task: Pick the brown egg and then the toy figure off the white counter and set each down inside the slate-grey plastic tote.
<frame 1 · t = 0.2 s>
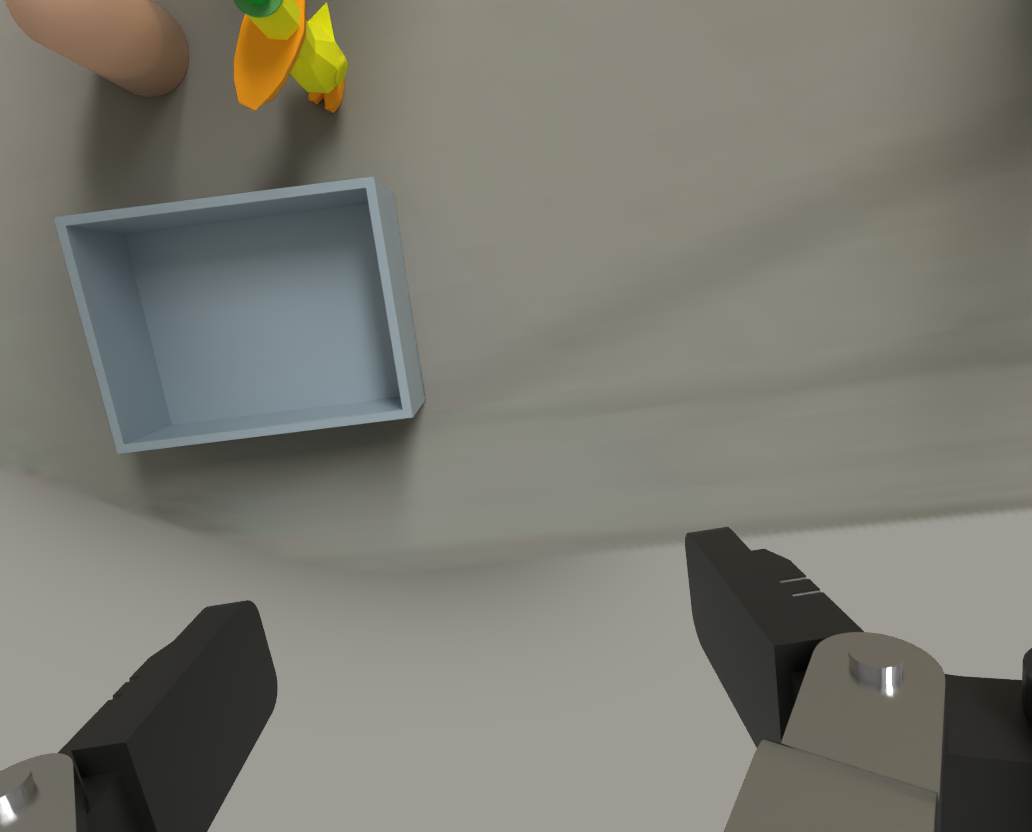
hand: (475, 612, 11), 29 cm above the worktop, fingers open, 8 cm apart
tote: (277, 316, 38), on the worktop
toy figure: (327, 94, 36), on the worktop
brown egg: (145, 50, 35), on the worktop
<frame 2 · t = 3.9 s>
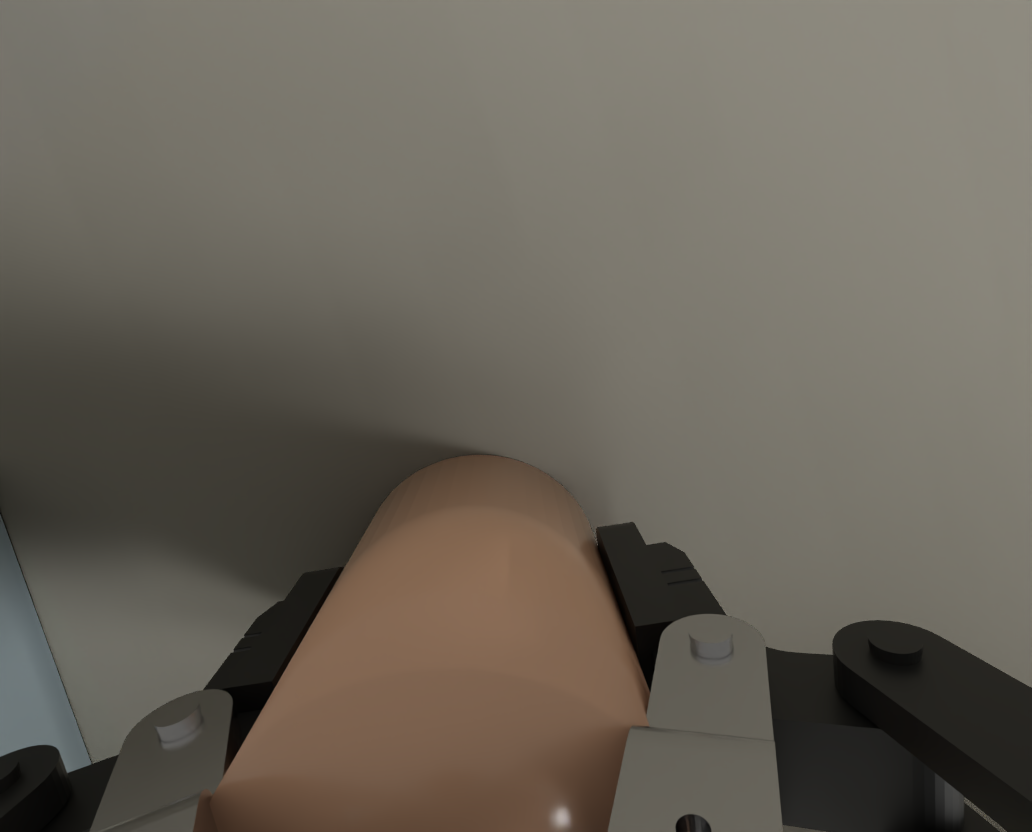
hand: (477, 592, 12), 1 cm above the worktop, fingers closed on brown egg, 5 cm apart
brown egg: (480, 567, 13), on the worktop, touching gripper
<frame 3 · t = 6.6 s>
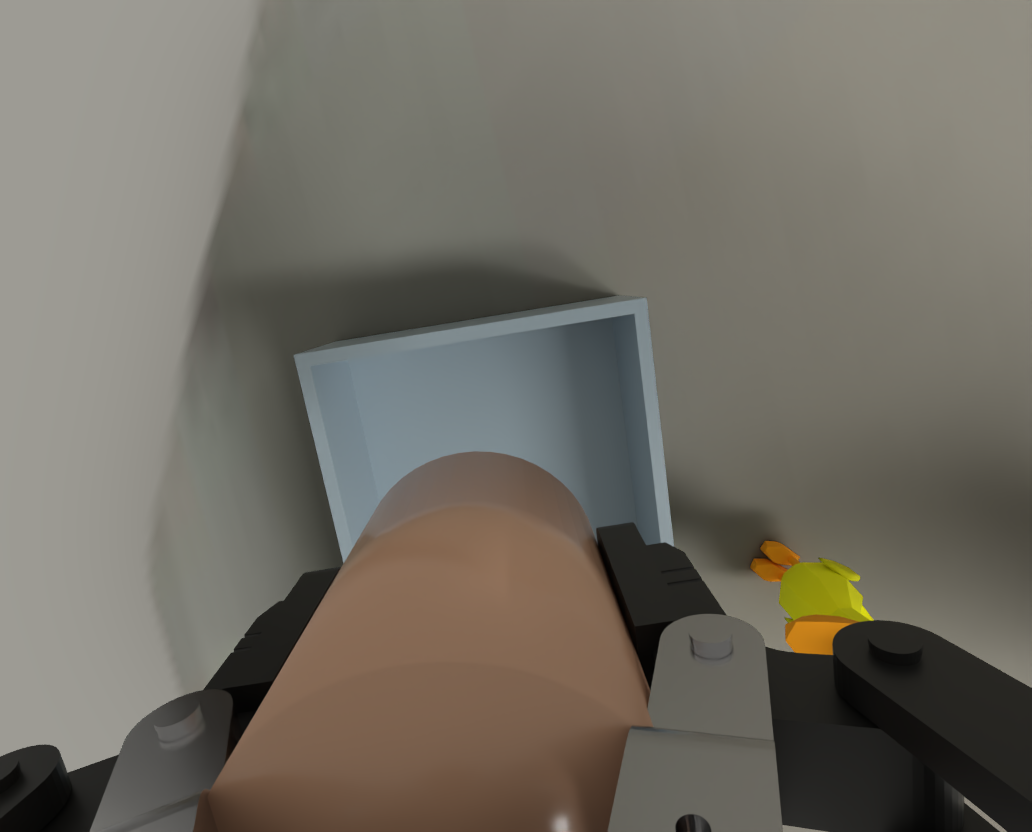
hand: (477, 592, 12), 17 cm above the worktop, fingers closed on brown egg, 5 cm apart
tote: (506, 494, 29), on the worktop
toy figure: (769, 556, 30), on the worktop
brown egg: (480, 564, 13), point 16 cm above the worktop, touching gripper
when the fingers open (3 cm above the worktop, at t = 9.5 s): brown egg stays where it is, resting on tote.
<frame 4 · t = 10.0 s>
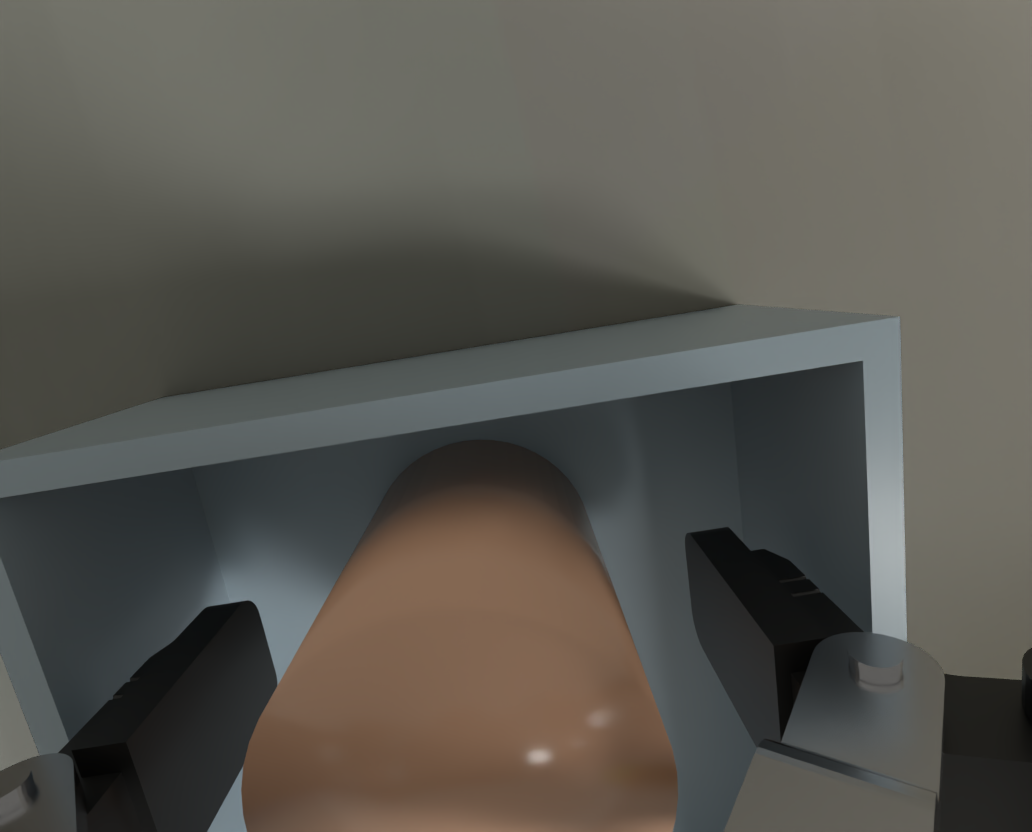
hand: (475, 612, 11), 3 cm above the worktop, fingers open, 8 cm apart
tote: (509, 684, 15), on the worktop
brown egg: (482, 545, 14), point 1 cm above the worktop, touching tote
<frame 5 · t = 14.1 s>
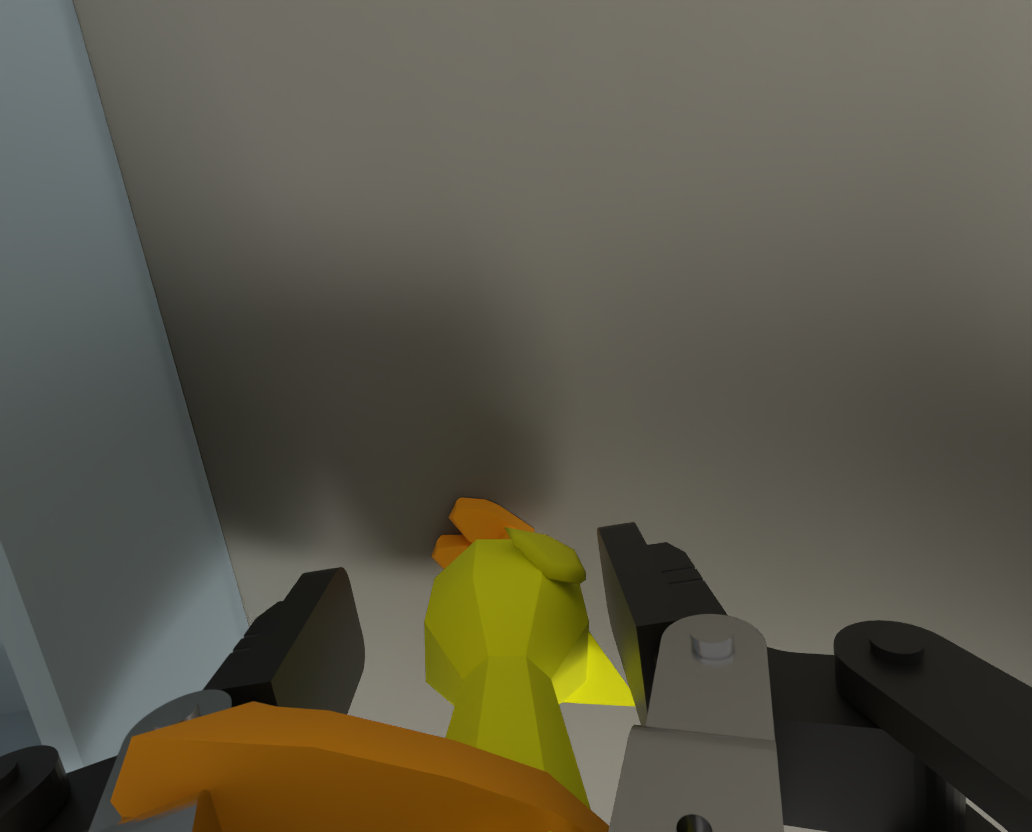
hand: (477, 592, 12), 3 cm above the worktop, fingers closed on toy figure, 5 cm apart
toy figure: (478, 531, 15), on the worktop, touching gripper
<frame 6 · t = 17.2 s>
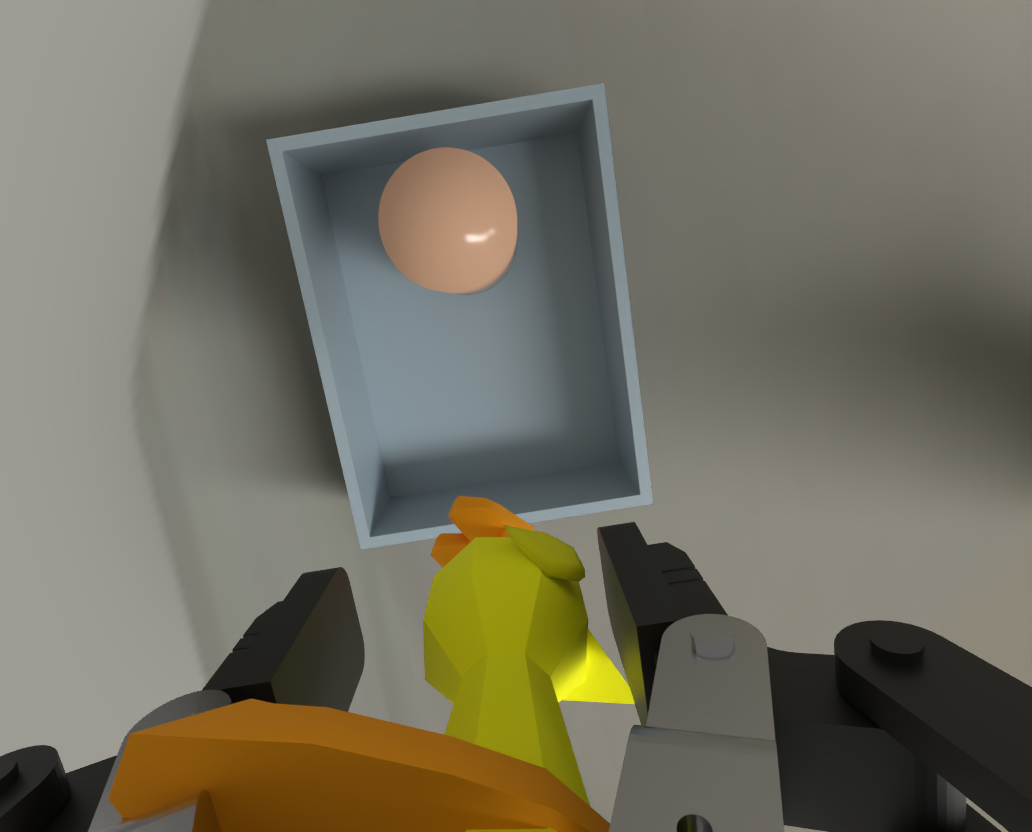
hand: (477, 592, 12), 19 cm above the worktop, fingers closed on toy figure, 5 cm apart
tote: (478, 325, 30), on the worktop
toy figure: (477, 529, 15), point 16 cm above the worktop, touching gripper
brown egg: (464, 241, 28), point 1 cm above the worktop, touching tote
when the fingers open (5 cm above the worktop, at t = 20.1 s): toy figure drops 1 cm, resting on tote.
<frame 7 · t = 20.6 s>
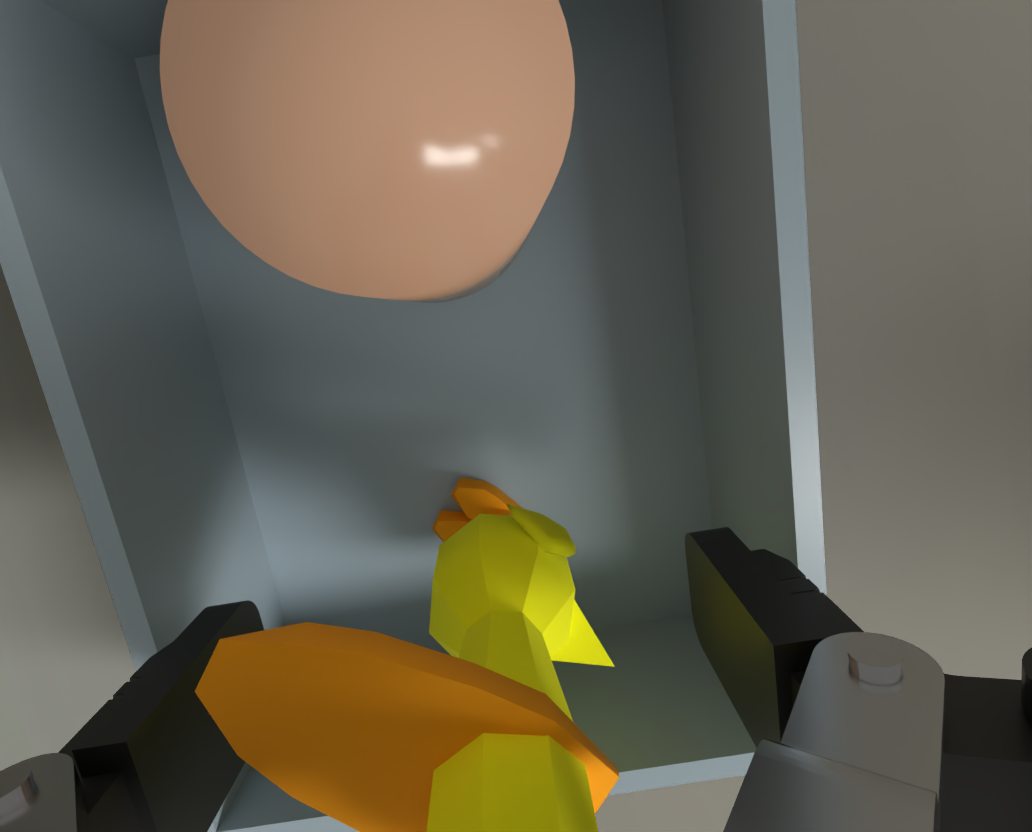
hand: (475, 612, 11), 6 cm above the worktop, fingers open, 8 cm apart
tote: (459, 361, 16), on the worktop
toy figure: (475, 509, 16), resting on tote
brown egg: (429, 195, 14), point 1 cm above the worktop, touching tote
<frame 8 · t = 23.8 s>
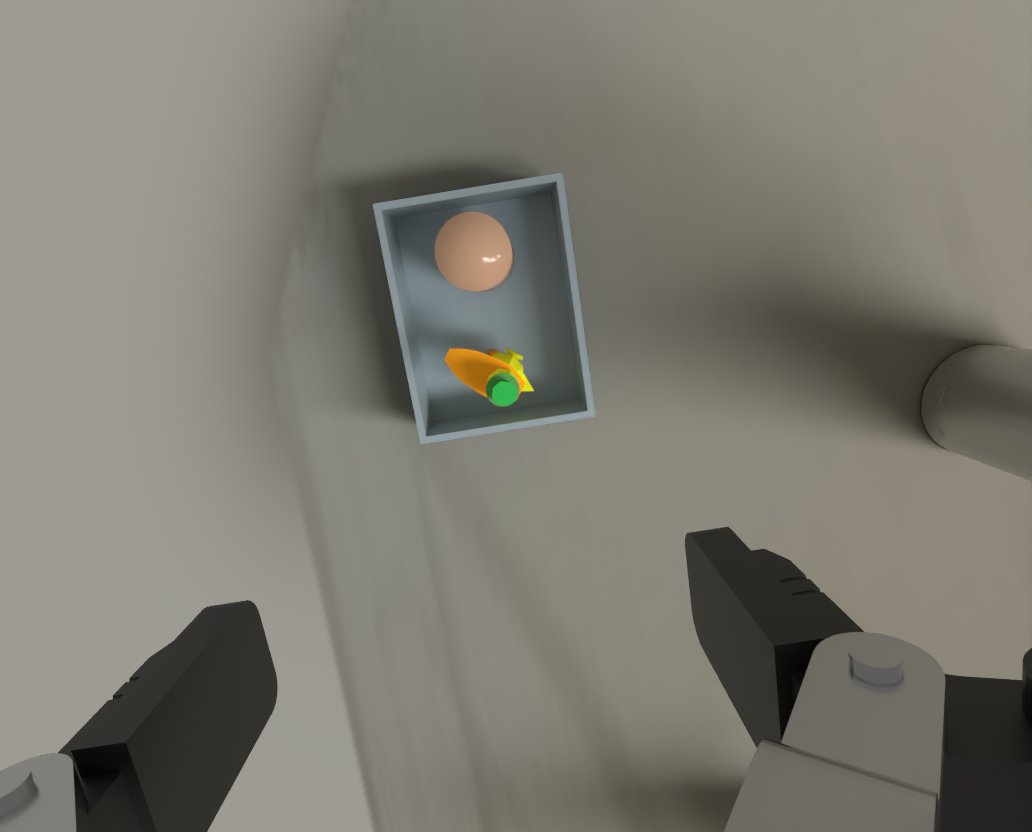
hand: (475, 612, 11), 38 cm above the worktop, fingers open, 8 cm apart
tote: (490, 311, 47), on the worktop
toy figure: (495, 361, 48), resting on tote
brown egg: (481, 258, 46), point 1 cm above the worktop, touching tote
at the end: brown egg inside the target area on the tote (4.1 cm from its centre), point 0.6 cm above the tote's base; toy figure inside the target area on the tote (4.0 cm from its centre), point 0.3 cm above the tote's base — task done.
